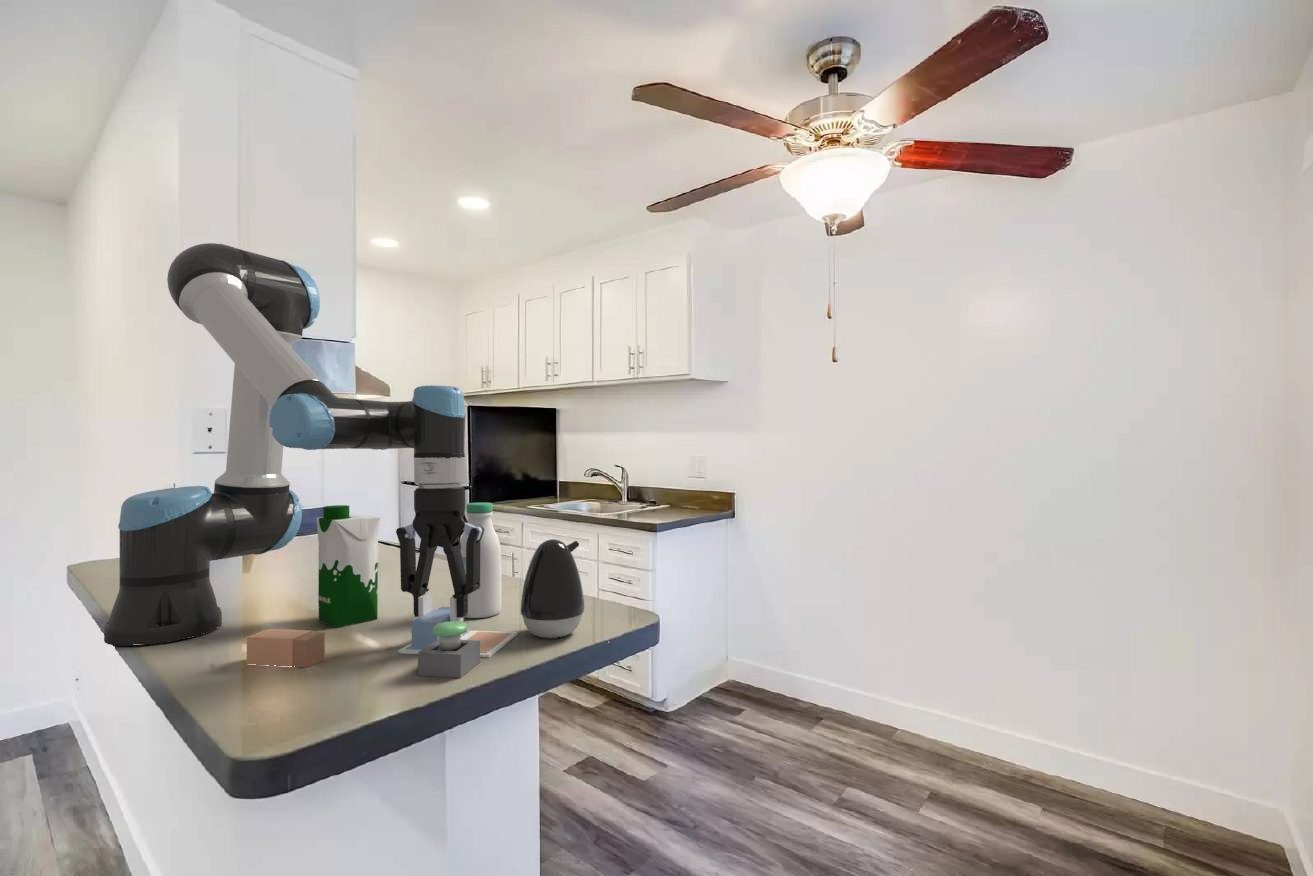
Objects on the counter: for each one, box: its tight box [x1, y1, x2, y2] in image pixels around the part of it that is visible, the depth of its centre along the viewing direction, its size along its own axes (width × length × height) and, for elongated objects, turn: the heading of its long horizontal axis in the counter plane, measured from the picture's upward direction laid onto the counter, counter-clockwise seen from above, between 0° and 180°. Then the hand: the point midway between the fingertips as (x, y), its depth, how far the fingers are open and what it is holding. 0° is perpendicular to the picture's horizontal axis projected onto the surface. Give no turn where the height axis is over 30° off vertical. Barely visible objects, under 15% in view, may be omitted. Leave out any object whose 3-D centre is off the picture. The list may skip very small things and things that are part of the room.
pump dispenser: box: [519, 539, 585, 639], centre depth 102 cm, size 10×10×15 cm
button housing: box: [417, 640, 481, 679], centre depth 86 cm, size 6×6×3 cm
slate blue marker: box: [411, 606, 465, 649], centre depth 97 cm, size 9×4×4 cm, turn 172°
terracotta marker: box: [246, 628, 326, 669], centre depth 89 cm, size 9×4×4 cm, turn 82°
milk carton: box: [315, 504, 381, 628], centre depth 110 cm, size 9×9×20 cm
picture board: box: [397, 629, 518, 659], centre depth 96 cm, size 14×11×1 cm
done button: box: [433, 621, 468, 650], centre depth 86 cm, size 4×4×3 cm
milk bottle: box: [460, 502, 502, 619], centre depth 114 cm, size 8×8×20 cm
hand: (440, 637), depth 97 cm, fingers open, 4 cm apart
